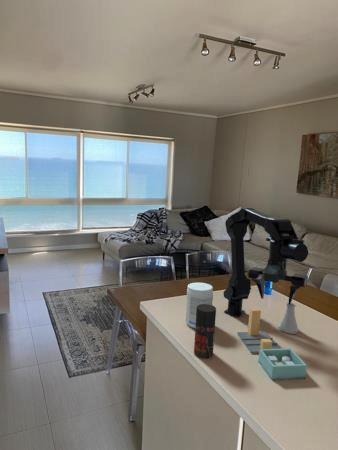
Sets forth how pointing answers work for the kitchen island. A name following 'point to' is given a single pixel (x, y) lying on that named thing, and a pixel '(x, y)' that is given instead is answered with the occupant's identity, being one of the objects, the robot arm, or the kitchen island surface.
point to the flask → (289, 320)
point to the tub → (282, 364)
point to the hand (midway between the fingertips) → (275, 301)
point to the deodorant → (204, 331)
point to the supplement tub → (197, 300)
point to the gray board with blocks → (256, 334)
